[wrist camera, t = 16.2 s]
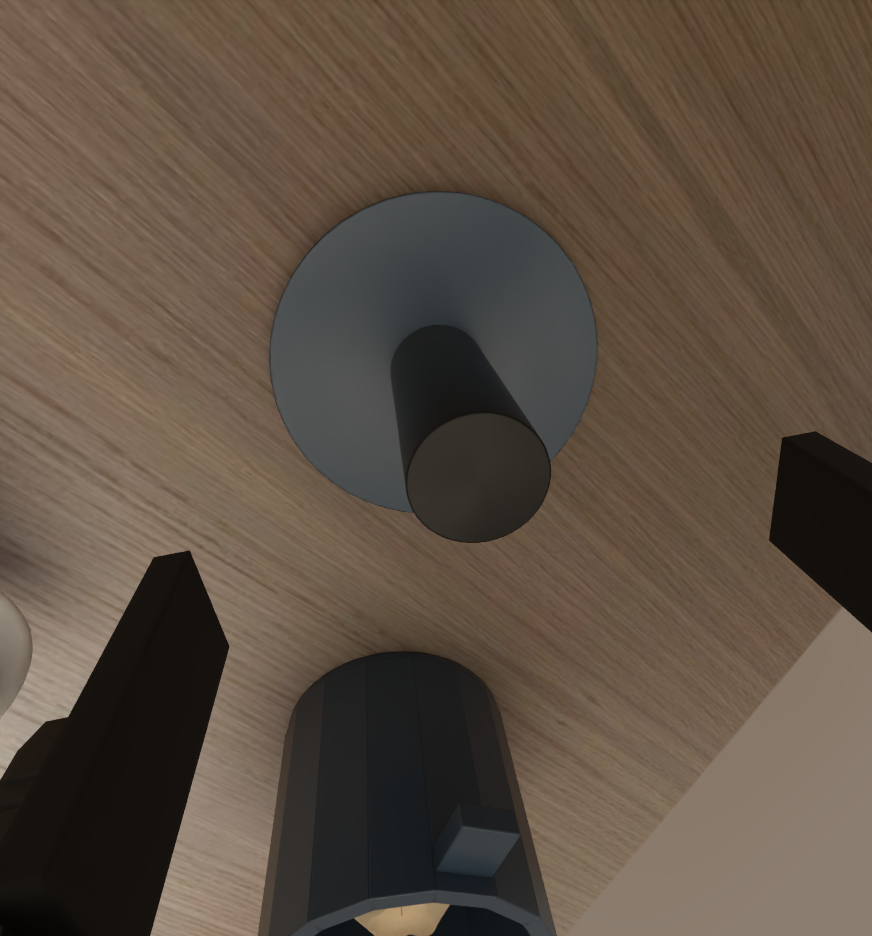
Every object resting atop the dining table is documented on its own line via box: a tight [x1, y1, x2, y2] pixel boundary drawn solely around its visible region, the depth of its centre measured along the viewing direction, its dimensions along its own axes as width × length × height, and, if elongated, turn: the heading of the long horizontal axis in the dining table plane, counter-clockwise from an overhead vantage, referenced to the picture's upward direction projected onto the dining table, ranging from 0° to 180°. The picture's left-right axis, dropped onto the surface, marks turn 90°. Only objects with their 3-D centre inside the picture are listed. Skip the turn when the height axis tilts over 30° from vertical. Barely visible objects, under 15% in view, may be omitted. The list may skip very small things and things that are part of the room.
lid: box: [269, 191, 597, 543], centre depth 21 cm, size 14×14×11 cm
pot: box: [258, 652, 557, 936], centre depth 30 cm, size 13×18×12 cm
